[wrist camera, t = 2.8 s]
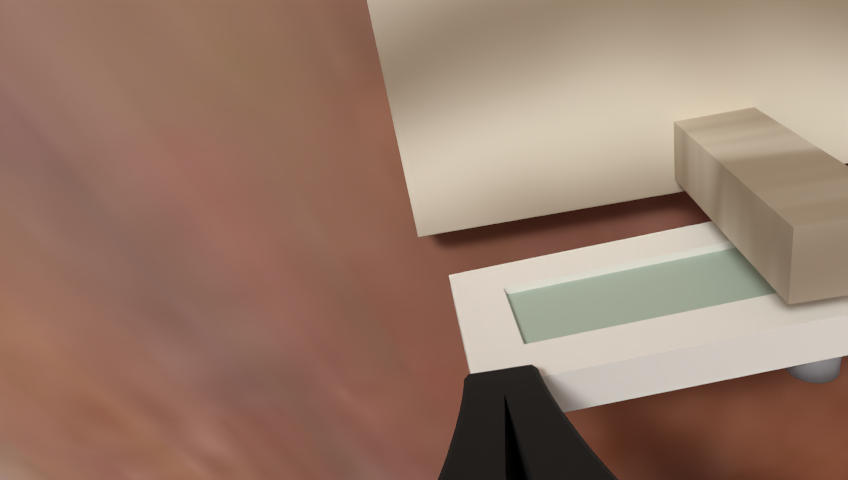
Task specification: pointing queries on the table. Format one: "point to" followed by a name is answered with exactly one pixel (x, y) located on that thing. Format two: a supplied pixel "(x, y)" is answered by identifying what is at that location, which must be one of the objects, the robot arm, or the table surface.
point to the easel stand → (630, 117)
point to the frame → (643, 319)
